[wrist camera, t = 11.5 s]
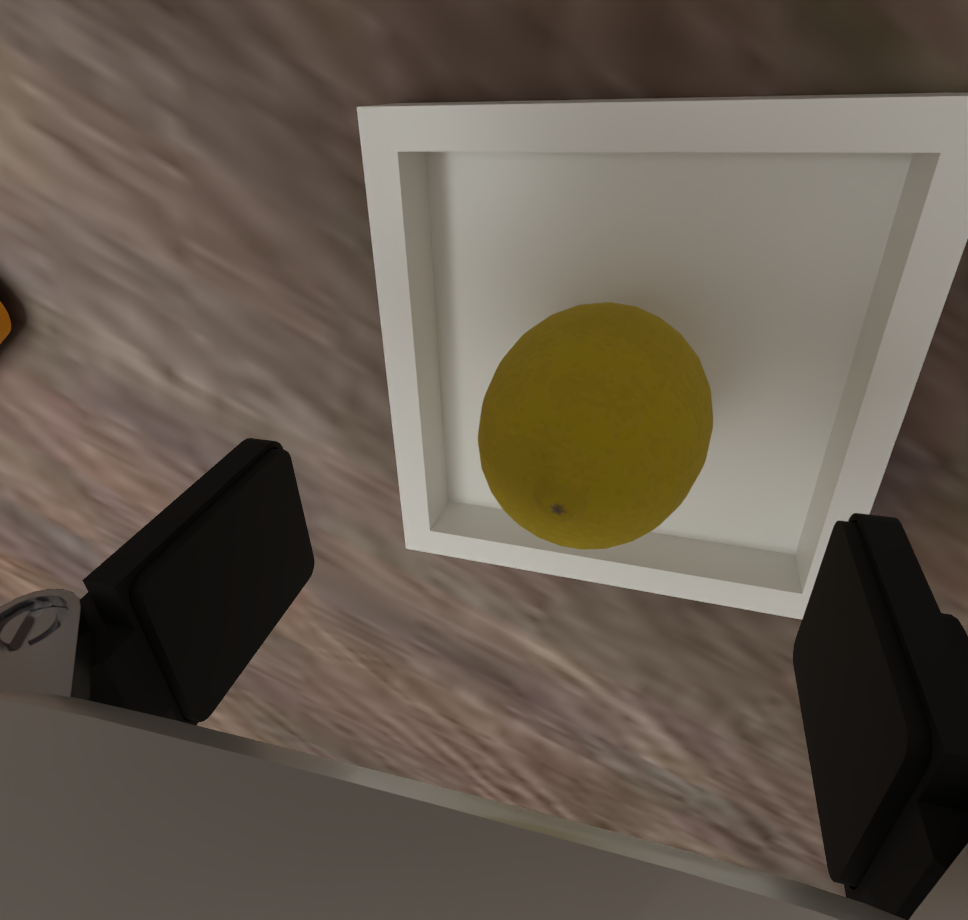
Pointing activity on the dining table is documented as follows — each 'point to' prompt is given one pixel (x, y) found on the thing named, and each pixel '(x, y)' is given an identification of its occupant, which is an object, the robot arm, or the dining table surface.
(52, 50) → the dining table surface
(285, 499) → the robot arm
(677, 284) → the tray
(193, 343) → the dining table surface
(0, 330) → the bracket
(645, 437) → the lemon
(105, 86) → the dining table surface
